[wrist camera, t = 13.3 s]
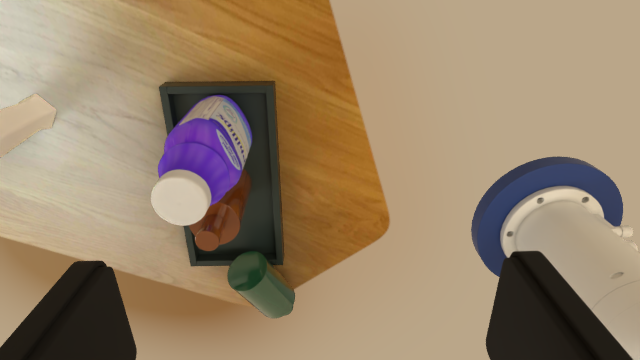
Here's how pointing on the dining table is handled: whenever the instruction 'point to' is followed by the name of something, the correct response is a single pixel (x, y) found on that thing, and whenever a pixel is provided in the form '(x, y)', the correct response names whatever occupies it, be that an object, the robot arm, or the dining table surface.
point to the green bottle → (261, 284)
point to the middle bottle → (223, 216)
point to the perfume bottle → (24, 121)
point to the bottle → (201, 160)
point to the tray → (261, 164)
